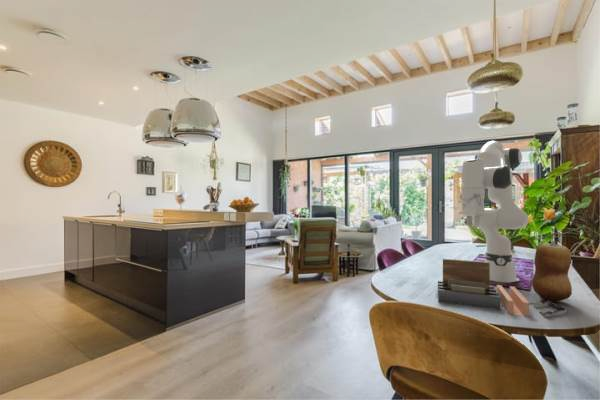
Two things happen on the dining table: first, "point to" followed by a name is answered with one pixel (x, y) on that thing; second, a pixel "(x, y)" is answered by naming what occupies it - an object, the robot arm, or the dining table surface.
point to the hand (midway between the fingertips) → (472, 226)
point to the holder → (513, 301)
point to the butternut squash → (552, 272)
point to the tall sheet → (466, 271)
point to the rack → (469, 297)
